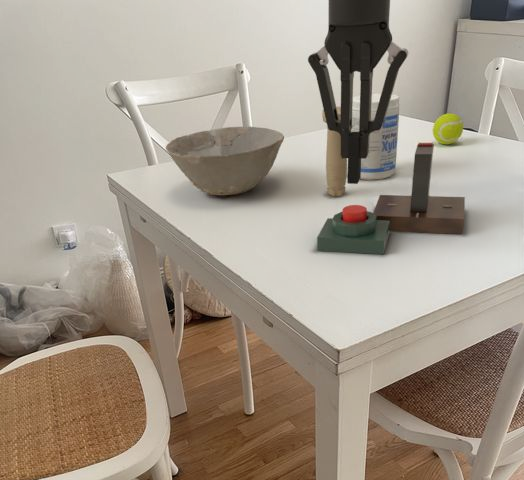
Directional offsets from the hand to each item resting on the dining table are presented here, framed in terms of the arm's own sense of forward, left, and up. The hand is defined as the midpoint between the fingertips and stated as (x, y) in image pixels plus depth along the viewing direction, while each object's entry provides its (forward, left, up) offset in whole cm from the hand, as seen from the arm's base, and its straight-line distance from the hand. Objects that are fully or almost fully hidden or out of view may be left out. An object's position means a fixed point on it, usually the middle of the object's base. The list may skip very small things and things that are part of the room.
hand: (354, 180), depth 79 cm
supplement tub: (+2, -35, -10) cm, 36 cm away
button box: (0, 0, -10) cm, 10 cm away
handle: (+7, -22, -10) cm, 25 cm away
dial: (-9, -10, -7) cm, 15 cm away
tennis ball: (-12, -59, -10) cm, 61 cm away
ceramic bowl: (+29, -23, -10) cm, 38 cm away
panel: (-9, -10, -10) cm, 17 cm away
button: (0, 0, -6) cm, 6 cm away
